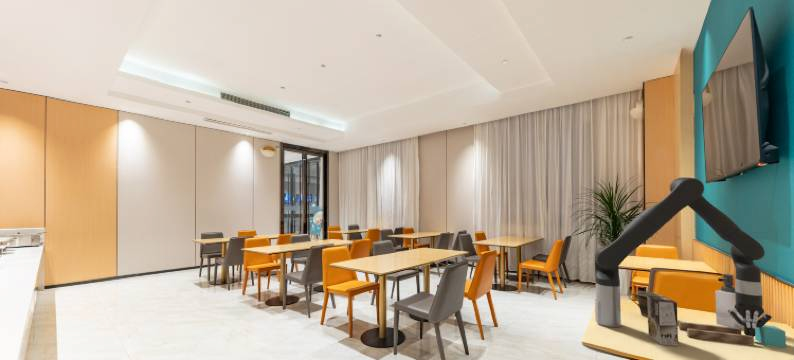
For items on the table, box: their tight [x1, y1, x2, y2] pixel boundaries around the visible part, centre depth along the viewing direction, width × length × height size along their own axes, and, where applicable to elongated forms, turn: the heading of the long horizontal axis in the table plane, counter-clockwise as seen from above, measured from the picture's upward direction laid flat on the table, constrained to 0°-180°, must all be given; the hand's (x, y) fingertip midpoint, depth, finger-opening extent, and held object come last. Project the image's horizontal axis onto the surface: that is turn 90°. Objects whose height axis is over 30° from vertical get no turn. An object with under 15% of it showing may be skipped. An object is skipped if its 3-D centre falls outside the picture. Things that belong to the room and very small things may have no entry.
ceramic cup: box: [628, 291, 662, 318], centre depth 165 cm, size 13×10×10 cm
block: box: [754, 324, 787, 349], centre depth 133 cm, size 6×6×6 cm
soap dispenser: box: [715, 273, 744, 329], centre depth 153 cm, size 6×9×22 cm
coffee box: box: [647, 295, 679, 347], centre depth 135 cm, size 9×6×16 cm
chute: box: [678, 321, 755, 346], centre depth 140 cm, size 20×10×3 cm, turn 69°
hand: (749, 336), depth 136 cm, fingers closed
